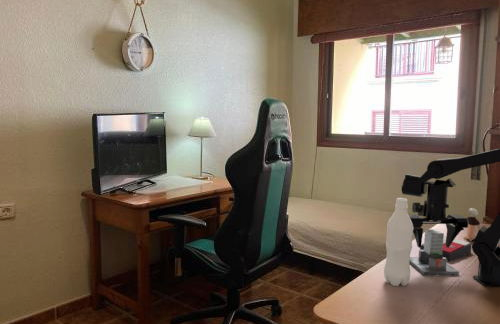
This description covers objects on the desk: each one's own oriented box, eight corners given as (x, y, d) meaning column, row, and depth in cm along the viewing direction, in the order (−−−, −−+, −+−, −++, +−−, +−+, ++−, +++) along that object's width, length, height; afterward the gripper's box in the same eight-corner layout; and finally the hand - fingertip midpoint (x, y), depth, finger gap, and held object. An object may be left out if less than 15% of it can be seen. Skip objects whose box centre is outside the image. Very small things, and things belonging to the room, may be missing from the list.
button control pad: (419, 243, 145) (441, 233, 154) (419, 255, 145) (441, 244, 154) (450, 252, 136) (472, 241, 145) (449, 264, 137) (471, 253, 146)
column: (442, 255, 128) (444, 233, 127) (430, 255, 128) (431, 233, 127) (435, 250, 133) (437, 229, 132) (423, 250, 133) (425, 229, 132)
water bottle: (411, 289, 115) (417, 202, 112) (384, 286, 117) (390, 201, 113) (407, 279, 122) (412, 196, 119) (382, 276, 124) (387, 195, 120)
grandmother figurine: (458, 237, 162) (461, 206, 160) (465, 236, 164) (467, 205, 162) (476, 243, 155) (479, 211, 154) (483, 242, 157) (486, 210, 155)
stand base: (458, 275, 126) (460, 258, 125) (423, 275, 125) (424, 258, 124) (438, 260, 138) (440, 245, 137) (406, 260, 137) (407, 245, 136)
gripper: (452, 193, 137) (448, 239, 139) (397, 193, 136) (394, 239, 138) (471, 201, 126) (467, 250, 128) (411, 201, 125) (408, 250, 127)
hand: (433, 247), depth 130 cm, fingers open, 9 cm apart
